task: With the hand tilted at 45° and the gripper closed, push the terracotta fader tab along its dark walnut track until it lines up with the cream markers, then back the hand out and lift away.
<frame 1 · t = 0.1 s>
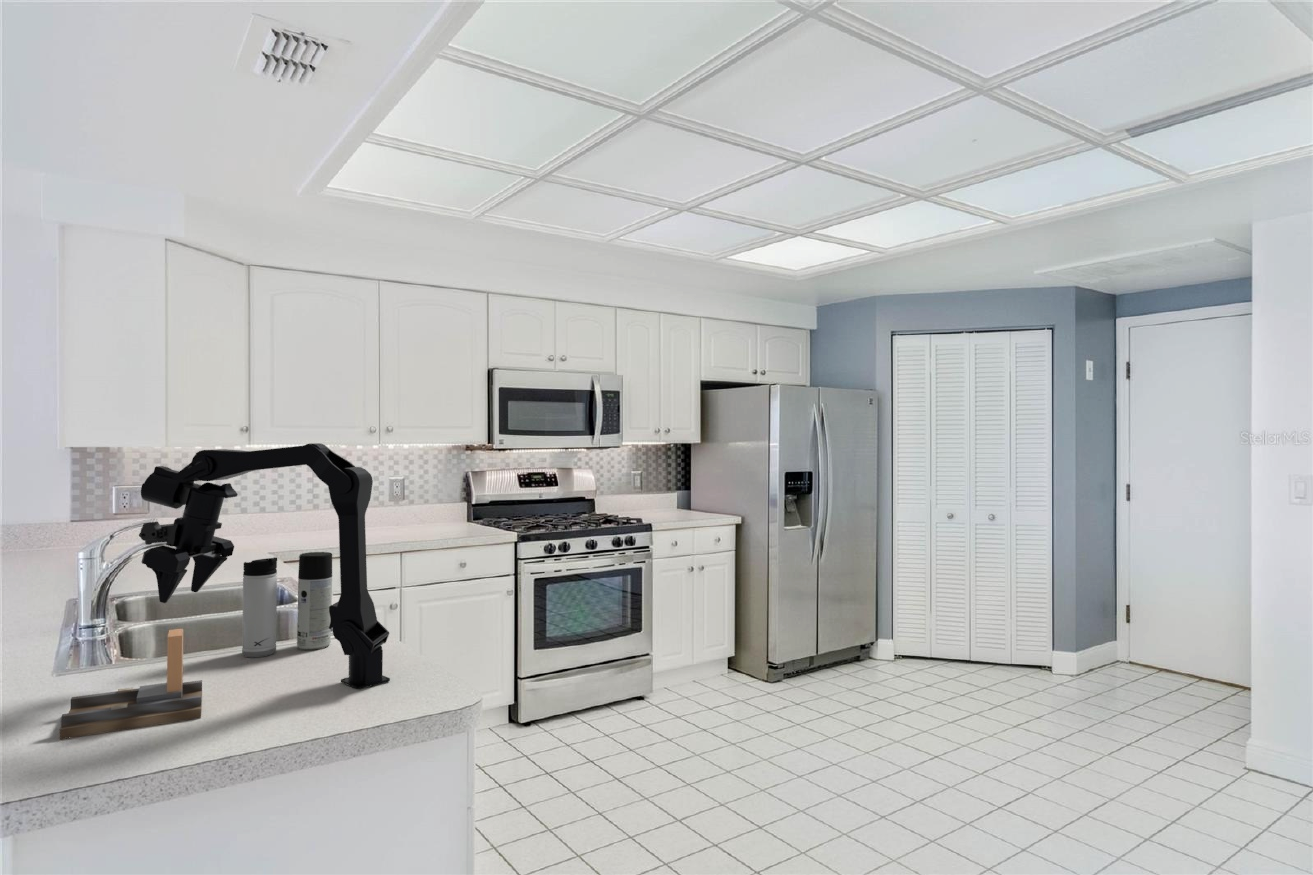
hand: (179, 596, 139), 15 cm above the counter, tool pointing down, fingers open, 9 cm apart
fader tab: (160, 667, 123), point 7 cm above the counter, slide at 0.0 cm
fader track: (187, 708, 125), on the counter
travel mug: (259, 654, 157), on the counter
spray can: (314, 647, 162), on the counter
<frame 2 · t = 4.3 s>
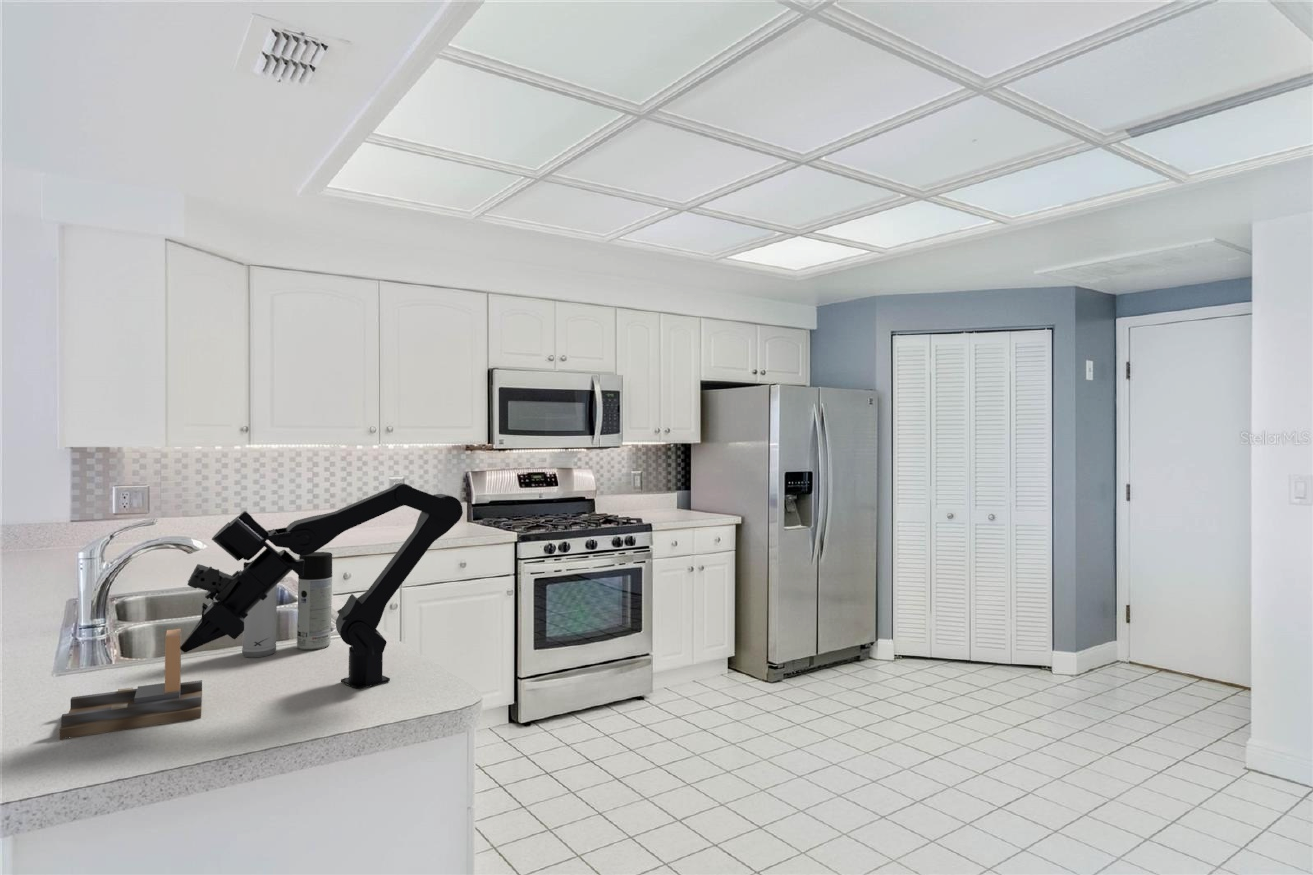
hand: (182, 650, 125), 10 cm above the counter, tool tilted 45°, fingers closed, pressing on fader tab
fader tab: (158, 667, 123), point 7 cm above the counter, slide at 0.3 cm, touching gripper
everything else where it was.
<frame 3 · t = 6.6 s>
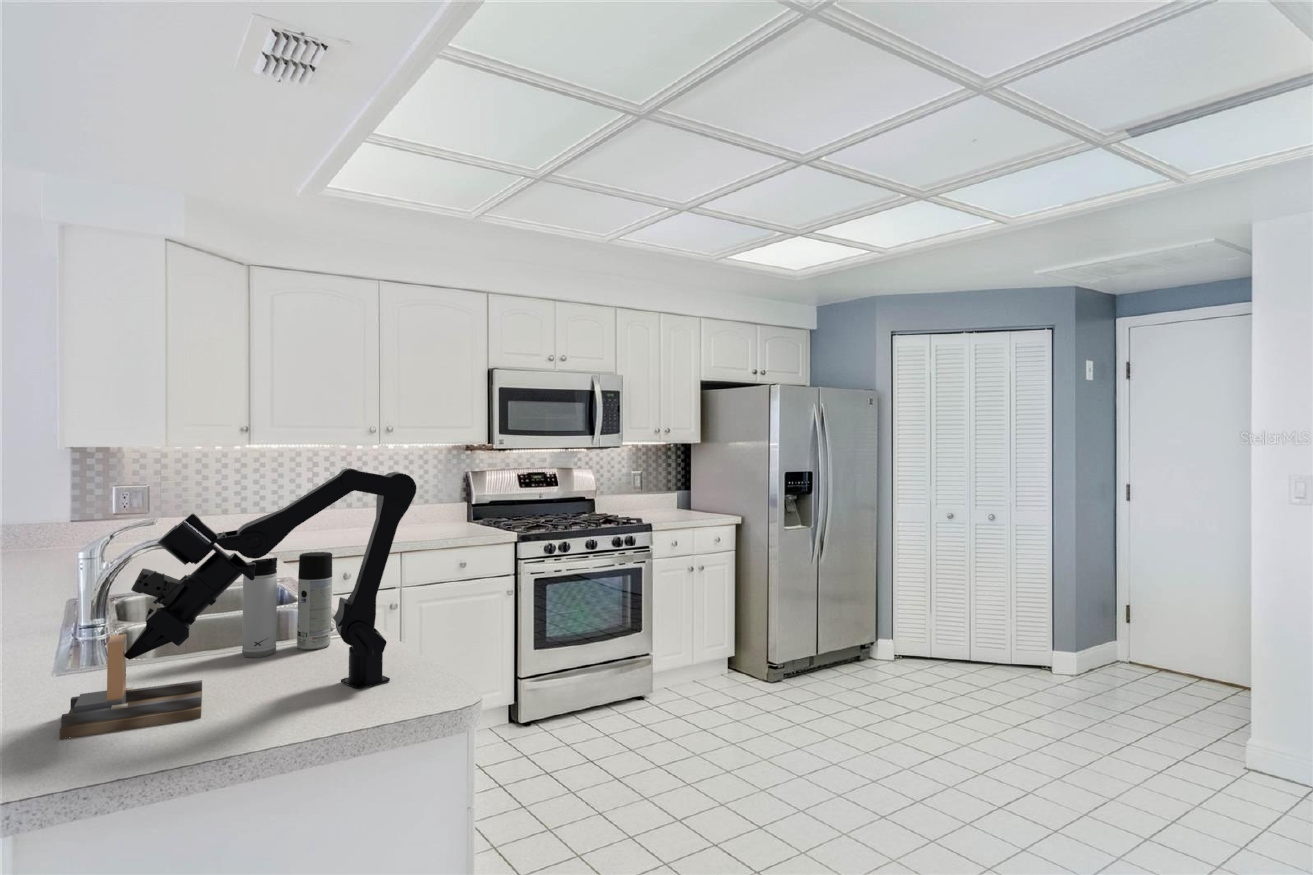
hand: (126, 657, 121), 10 cm above the counter, tool tilted 45°, fingers closed, pressing on fader tab
fader tab: (101, 674, 119), point 7 cm above the counter, slide at 7.9 cm, touching gripper
everything else where it was.
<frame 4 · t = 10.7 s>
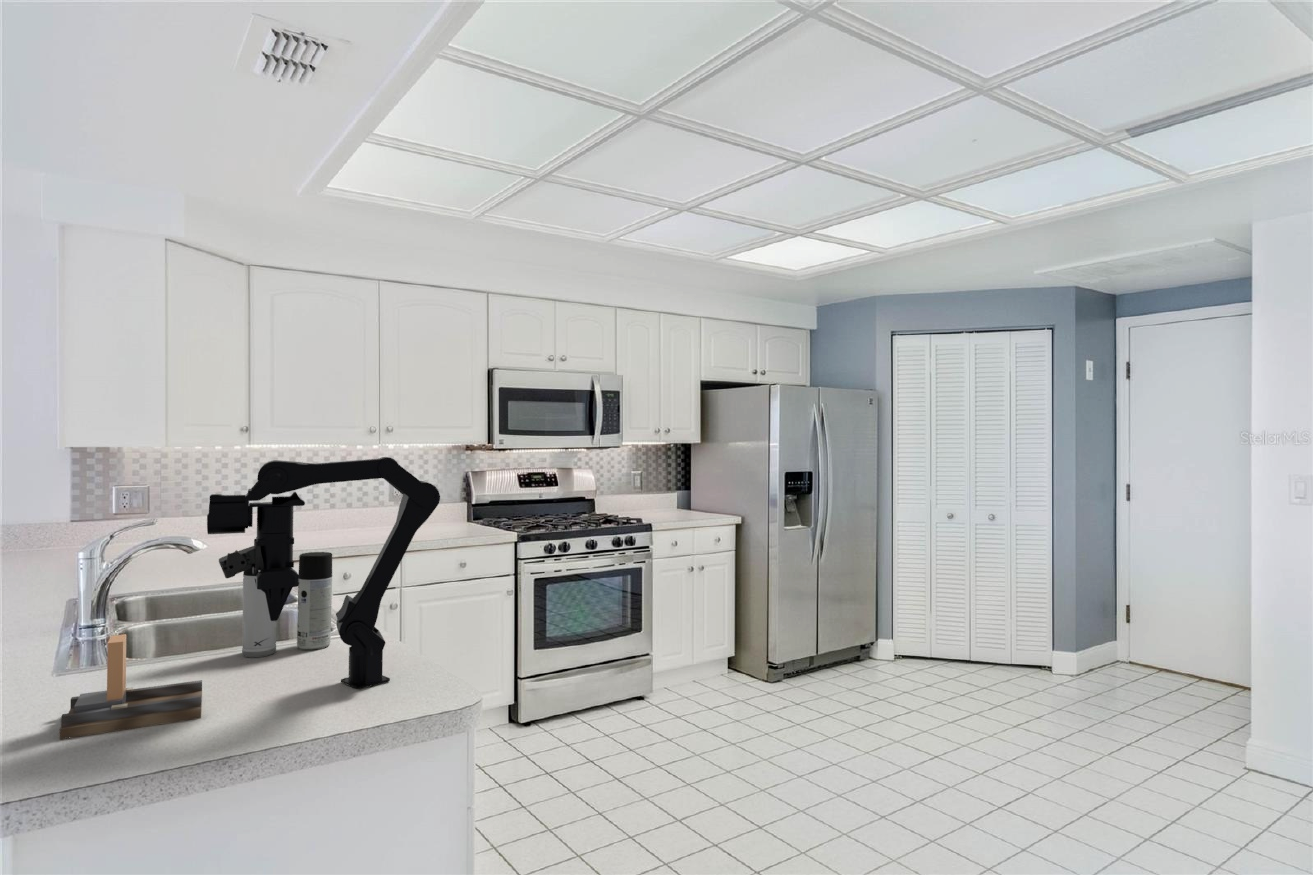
hand: (273, 620, 132), 13 cm above the counter, tool pointing down, fingers closed
fader tab: (101, 674, 119), point 7 cm above the counter, slide at 7.9 cm
everything else where it was.
at the end: fader tab slide at 7.9 cm; the gripper is holding nothing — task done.
